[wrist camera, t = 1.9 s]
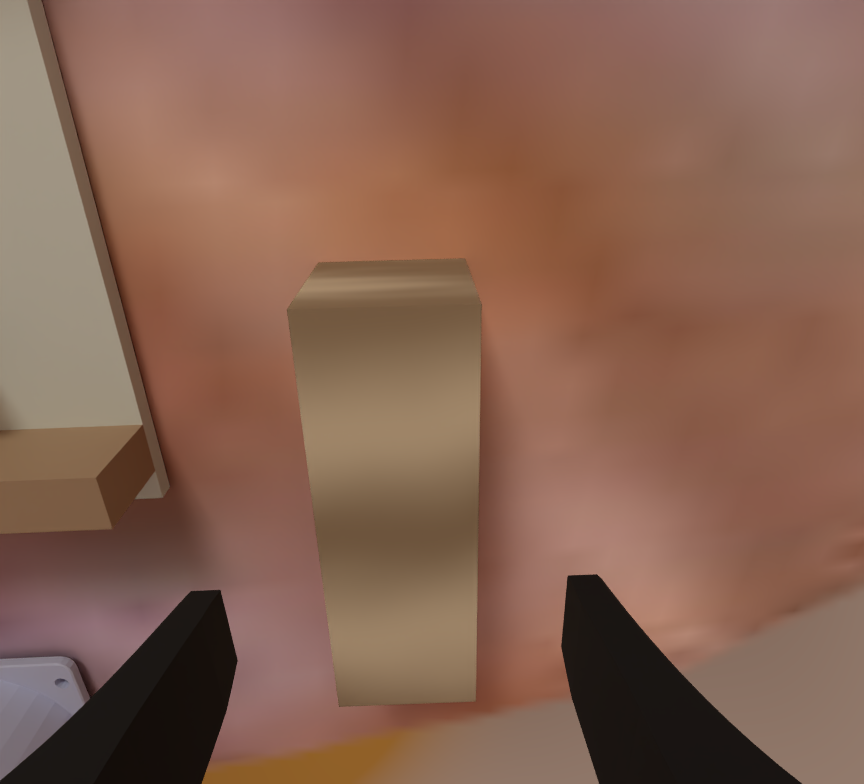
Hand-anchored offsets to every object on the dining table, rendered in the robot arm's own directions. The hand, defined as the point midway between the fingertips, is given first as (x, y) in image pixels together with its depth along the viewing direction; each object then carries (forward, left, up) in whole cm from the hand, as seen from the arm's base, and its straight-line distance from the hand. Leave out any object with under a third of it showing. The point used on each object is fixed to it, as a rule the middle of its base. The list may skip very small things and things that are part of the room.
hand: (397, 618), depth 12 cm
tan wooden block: (0, 0, -7) cm, 7 cm away
